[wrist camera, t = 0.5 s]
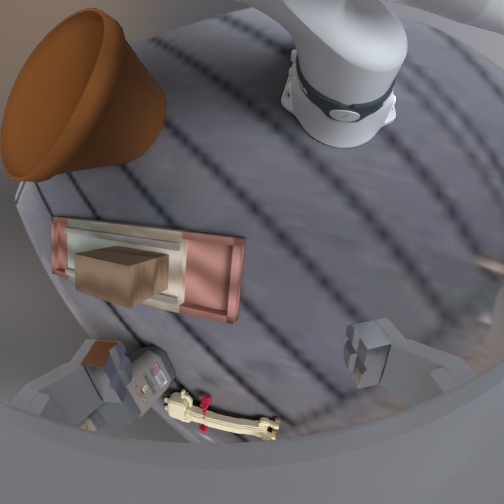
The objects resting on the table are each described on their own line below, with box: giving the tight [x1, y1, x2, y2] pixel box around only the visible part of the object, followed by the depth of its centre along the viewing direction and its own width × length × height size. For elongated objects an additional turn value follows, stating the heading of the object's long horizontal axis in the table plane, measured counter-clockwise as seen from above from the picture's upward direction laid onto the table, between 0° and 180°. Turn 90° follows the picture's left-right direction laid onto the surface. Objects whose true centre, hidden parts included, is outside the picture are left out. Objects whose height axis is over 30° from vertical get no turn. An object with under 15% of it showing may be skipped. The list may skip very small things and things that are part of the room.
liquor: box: [76, 346, 176, 432], centre depth 37 cm, size 9×9×30 cm
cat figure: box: [164, 390, 280, 441], centre depth 46 cm, size 10×9×25 cm
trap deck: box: [51, 216, 246, 324], centre depth 48 cm, size 14×48×4 cm, turn 84°
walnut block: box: [74, 246, 169, 308], centre depth 40 cm, size 6×12×11 cm, turn 84°
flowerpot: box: [0, 8, 166, 182], centre depth 35 cm, size 28×28×24 cm
